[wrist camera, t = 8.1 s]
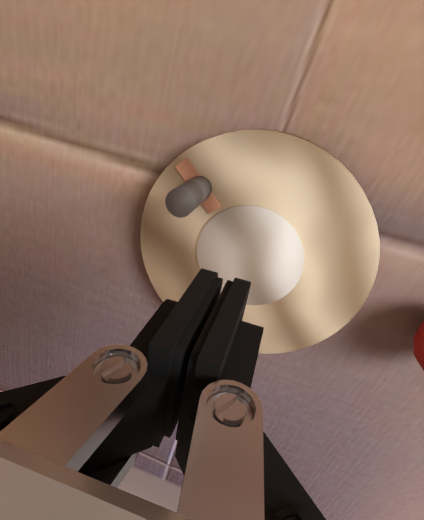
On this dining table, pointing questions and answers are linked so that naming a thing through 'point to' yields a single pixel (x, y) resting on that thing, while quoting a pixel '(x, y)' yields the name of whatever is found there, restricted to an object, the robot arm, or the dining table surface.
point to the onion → (419, 345)
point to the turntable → (265, 232)
